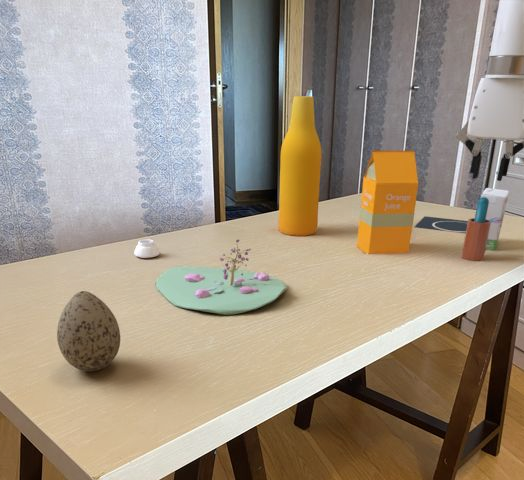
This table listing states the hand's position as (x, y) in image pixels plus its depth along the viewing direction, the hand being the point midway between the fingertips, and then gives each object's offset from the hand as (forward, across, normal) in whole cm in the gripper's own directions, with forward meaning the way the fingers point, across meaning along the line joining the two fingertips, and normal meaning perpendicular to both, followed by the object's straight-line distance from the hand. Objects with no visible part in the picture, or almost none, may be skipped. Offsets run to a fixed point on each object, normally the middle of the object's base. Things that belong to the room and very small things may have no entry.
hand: (487, 177), depth 100 cm
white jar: (+17, +59, +29) cm, 68 cm away
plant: (+17, +37, +39) cm, 56 cm away
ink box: (+16, -2, -12) cm, 20 cm away
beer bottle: (+17, +40, -4) cm, 43 cm away
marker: (+16, 0, 0) cm, 16 cm away
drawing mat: (+16, +7, -26) cm, 31 cm away
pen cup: (+16, 0, 0) cm, 16 cm away
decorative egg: (+17, +36, +70) cm, 80 cm away
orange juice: (+16, +18, +2) cm, 24 cm away
